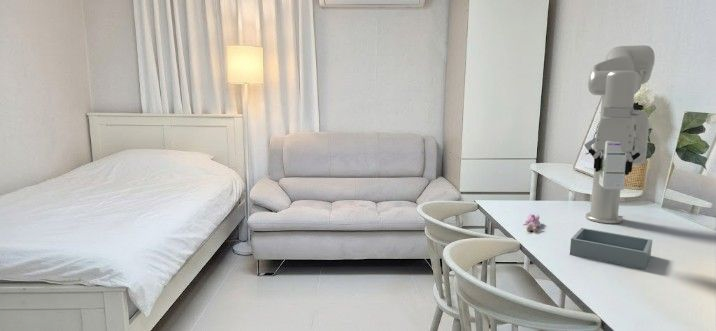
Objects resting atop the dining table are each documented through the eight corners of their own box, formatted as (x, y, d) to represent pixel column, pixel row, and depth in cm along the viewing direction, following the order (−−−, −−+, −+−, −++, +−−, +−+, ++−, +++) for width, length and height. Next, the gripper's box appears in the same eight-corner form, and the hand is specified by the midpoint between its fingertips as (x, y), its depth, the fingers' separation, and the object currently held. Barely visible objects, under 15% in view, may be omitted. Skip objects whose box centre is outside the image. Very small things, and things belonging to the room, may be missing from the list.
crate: (580, 242, 155) (581, 227, 154) (650, 255, 143) (652, 239, 142) (569, 254, 144) (570, 238, 143) (644, 269, 132) (646, 252, 131)
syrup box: (624, 190, 138) (629, 141, 135) (602, 189, 139) (607, 140, 136) (618, 185, 143) (622, 138, 141) (597, 185, 144) (601, 138, 142)
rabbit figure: (540, 238, 164) (542, 220, 177) (541, 222, 162) (543, 205, 175) (521, 235, 166) (525, 218, 179) (522, 220, 164) (525, 203, 177)
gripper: (654, 114, 135) (647, 174, 138) (588, 111, 145) (583, 167, 148) (650, 115, 129) (643, 178, 132) (582, 113, 140) (577, 171, 143)
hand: (612, 172), depth 140 cm, fingers closed on syrup box, 7 cm apart
